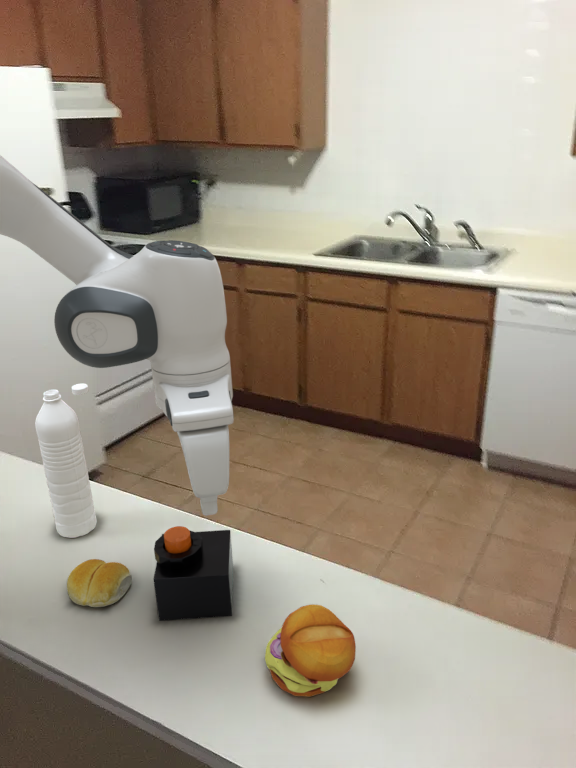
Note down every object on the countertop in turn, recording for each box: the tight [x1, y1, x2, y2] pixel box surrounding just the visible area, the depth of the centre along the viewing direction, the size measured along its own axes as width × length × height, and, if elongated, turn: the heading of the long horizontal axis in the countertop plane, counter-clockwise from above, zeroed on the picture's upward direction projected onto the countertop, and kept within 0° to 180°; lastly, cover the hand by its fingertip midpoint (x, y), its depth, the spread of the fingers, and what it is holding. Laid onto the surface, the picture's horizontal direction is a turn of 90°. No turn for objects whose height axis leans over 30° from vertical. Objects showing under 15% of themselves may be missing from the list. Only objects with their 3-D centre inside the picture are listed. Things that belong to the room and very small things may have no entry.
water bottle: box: [34, 382, 98, 539], centre depth 107 cm, size 9×6×25 cm
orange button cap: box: [163, 525, 191, 553], centre depth 92 cm, size 4×4×2 cm
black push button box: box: [152, 529, 234, 622], centre depth 94 cm, size 10×10×9 cm
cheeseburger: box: [264, 603, 357, 698], centre depth 81 cm, size 10×11×10 cm
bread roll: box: [66, 558, 133, 608], centre depth 97 cm, size 8×9×4 cm
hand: (204, 491), depth 81 cm, fingers open, 8 cm apart
